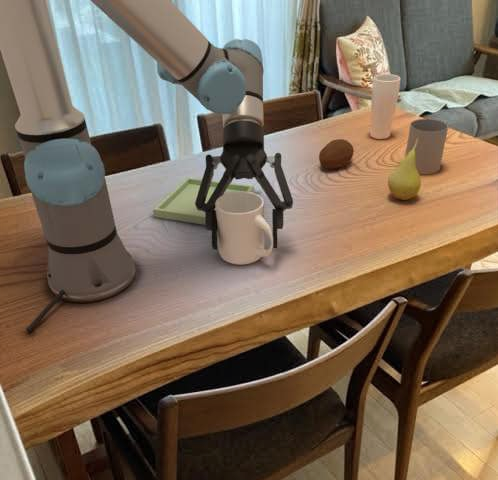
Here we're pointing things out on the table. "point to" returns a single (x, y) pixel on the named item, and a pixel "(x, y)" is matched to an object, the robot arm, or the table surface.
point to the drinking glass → (383, 104)
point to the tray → (190, 201)
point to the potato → (336, 154)
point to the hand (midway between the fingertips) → (244, 247)
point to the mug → (241, 227)
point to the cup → (427, 144)
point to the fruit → (405, 178)
